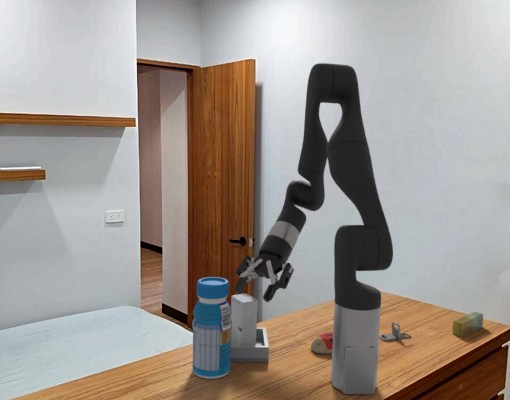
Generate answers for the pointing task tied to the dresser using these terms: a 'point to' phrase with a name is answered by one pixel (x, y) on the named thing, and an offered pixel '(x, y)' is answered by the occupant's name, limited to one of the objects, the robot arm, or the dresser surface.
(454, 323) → the medication box
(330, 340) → the ladybug figurine
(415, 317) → the dresser surface
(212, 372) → the beverage bottle
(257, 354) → the gray open square tray
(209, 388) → the dresser surface
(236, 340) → the skincare box
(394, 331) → the strap clip
